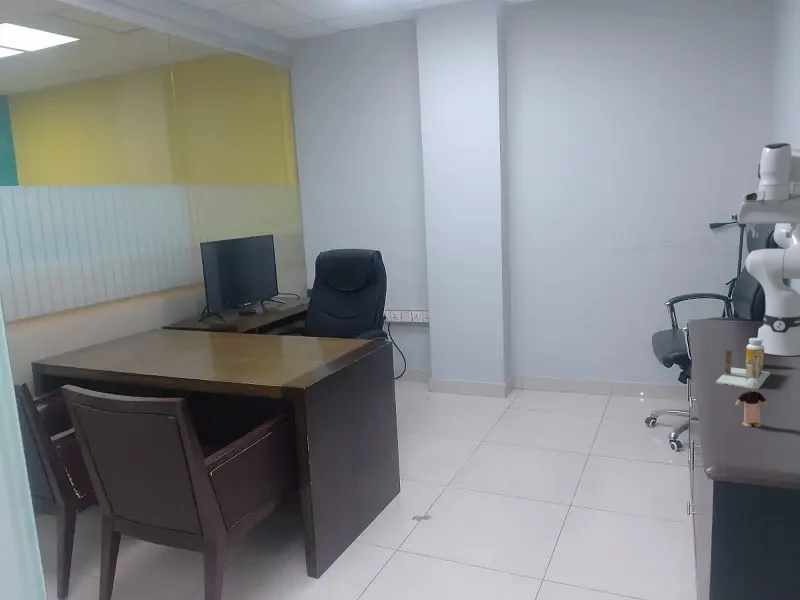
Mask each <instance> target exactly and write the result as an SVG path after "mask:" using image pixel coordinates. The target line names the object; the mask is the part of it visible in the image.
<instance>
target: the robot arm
mask: <svg viewBox="0 0 800 600" xmlns="http://www.w3.org/2000/svg"><path fill="white" fill-rule="evenodd" d="M761 152H762V153H761V156H760V163H759V164H758V169H757V170H758V171H757V178H758V179H759V180H760V181H759V184H758V190H755V191H754V190H753V191H751V192H749V193H746V194H742V198H741V200H742V201H743V202H741V203H740V204H739V206H738V210H737V211H738V212H737V218H736V219H737V220H736V221H737V222H738V224H739V225H741V224H742V225H744V224H745V225H748V228H749V230H750V231H751V232H752V238H754V239H755V238H756V239H757V238H759V234H760V233H759V231H756V229H755V227H756V225H758V224H760V225H761V224H765V225H766V224H772V225H773V224H775V225H774V226H775V227H774V231H773V241H774V242H775V243H776V244H777V245H778V246H779V247H781V248H762V249H756V250H751V252H750V253H749V254H748V255H747V256H746V259H745V265H744V266H745V268H746V270H747V272H748V273H749V275H750V276H752V277H753V278H754V279H756V280H757V281H758V282H759V285H761V286H762V287H761V288H762V289H763V293H764V297H765V299H764V300H765V312H764V314H763V325H762V326H760V327H759V328H758V333H757V338H760V339H762V344H761V345H763V346H764V354H768V355H774V356H783V357H784V356H785V357H787V356H788V357H789V356H790V357H795V356H796V357H797V356H800V293H799V292H798V291H797V290H796V289H793V288H792V287H789V286H788V285H785V284H784V281H783V279H789V280H791V279H792V280H794V279H796V280H800V149H798V148H792V145H791V144H789V143H787V142H786V143H785V142H779V143H772V144H771V143H770V144H767V145H766V146H763V147H762V151H761Z"/></svg>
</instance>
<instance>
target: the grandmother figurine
mask: <svg viewBox="0 0 800 600" xmlns="http://www.w3.org/2000/svg"><path fill="white" fill-rule="evenodd" d="M759 386H760V384H759V383H758V380H757V379H754V378H750V379H747V381H746V382H745V387H746V388H745V387H744V388H745V389H747V392H744V393H743V392H742V393H741V394H740V395H739V396H738V398H737V400H736V402H735V404H734V405H735V406H737V407H740V405H741V404H742V403H743V402H744V406H743V408H744V409H743V410H744V411H743V421H742V423H741V424H742V426H745V427H747V428H752V427H753V426H754V427H756V428H760V427H762V423H761V408H760V402H761V403H762V405H763V407H764V408H768V407H769V404H768V402H767V399H766V398H765V397H764V395H763V394H762V393H761V392H758V390H759V389H760V388H759ZM760 387H761V386H760ZM758 388H759V389H758Z"/></svg>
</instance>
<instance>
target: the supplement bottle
mask: <svg viewBox="0 0 800 600" xmlns="http://www.w3.org/2000/svg"><path fill="white" fill-rule="evenodd" d="M748 343H749V344H747V345H746V354H745V366H746V365H747V361H749V359H751V358H753V355H755V353H757V351H761V352H762V353H763V358H762V368H763V367H764V364H765V363H764V361H765V353H764V346H763V345H761V344H762V339H760V338H758V337H750V338H748Z"/></svg>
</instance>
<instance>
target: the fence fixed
mask: <svg viewBox="0 0 800 600" xmlns="http://www.w3.org/2000/svg"><path fill="white" fill-rule="evenodd" d="M753 358H756V360H757V367H756V378H757V377H758V376H759V375H760V373H761V372H762V371H763V367H762V358H763V353H762V352H761V351H757V353H755V355H753Z"/></svg>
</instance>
